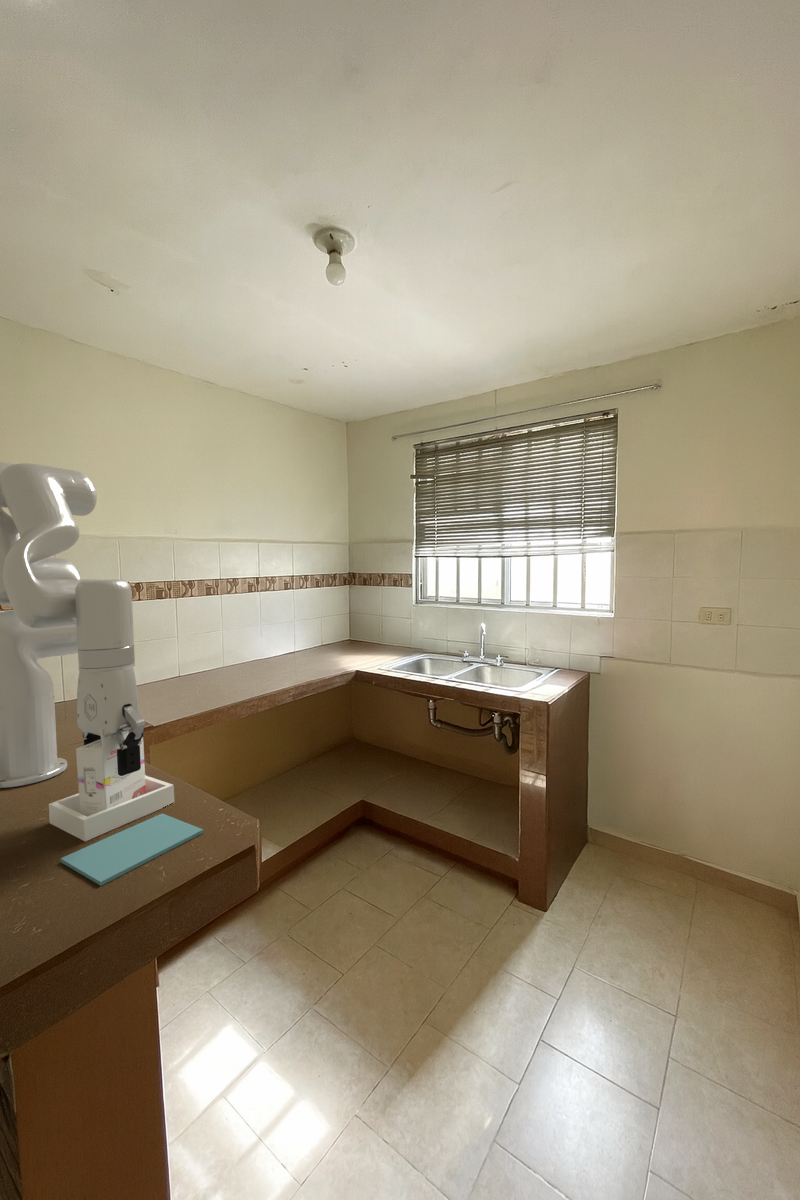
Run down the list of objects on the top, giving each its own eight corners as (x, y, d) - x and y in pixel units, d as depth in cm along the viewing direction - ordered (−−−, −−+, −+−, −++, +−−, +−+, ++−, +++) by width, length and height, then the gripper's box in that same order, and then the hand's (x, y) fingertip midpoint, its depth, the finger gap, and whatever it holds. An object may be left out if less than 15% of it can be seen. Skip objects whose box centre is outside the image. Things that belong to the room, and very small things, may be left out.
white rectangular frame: (49, 823, 74) (48, 803, 74) (138, 789, 85) (137, 772, 85) (85, 841, 68) (83, 820, 68) (174, 802, 80) (173, 784, 79)
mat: (60, 862, 63) (60, 858, 63) (162, 816, 75) (162, 813, 75) (100, 886, 58) (100, 881, 58) (203, 832, 70) (203, 829, 70)
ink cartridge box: (121, 799, 81) (117, 712, 81) (147, 801, 80) (143, 713, 80) (78, 825, 73) (73, 728, 72) (106, 827, 72) (101, 729, 71)
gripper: (53, 658, 77) (59, 765, 78) (112, 666, 68) (117, 787, 69) (103, 652, 83) (108, 750, 84) (162, 658, 74) (167, 768, 75)
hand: (112, 766), depth 76 cm, fingers open, 9 cm apart
